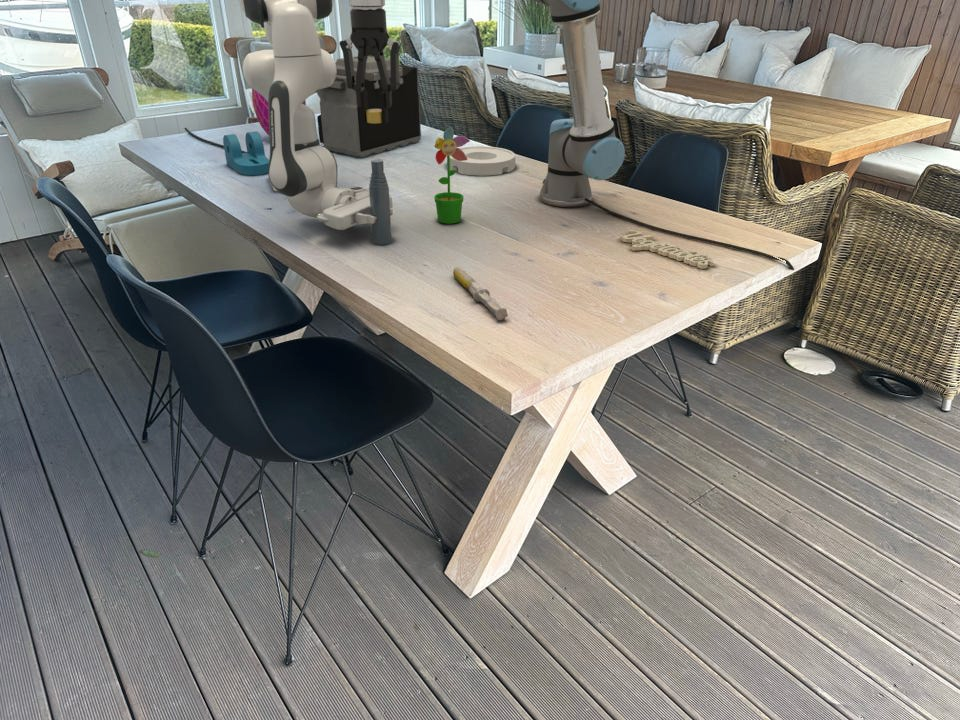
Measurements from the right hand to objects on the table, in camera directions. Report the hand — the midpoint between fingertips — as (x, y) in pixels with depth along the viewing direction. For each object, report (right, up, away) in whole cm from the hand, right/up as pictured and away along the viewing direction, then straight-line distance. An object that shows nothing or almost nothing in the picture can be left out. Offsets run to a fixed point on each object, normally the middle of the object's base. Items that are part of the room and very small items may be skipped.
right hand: (375, 121), depth 158 cm
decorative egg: (-51, +30, +107) cm, 122 cm away
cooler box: (-17, +26, +100) cm, 105 cm away
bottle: (-1, -25, +15) cm, 29 cm away
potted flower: (+16, -17, +29) cm, 37 cm away
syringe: (+24, -42, -13) cm, 50 cm away
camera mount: (-52, +9, +71) cm, 89 cm away
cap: (0, +2, -1) cm, 2 cm away
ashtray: (+24, +11, +77) cm, 81 cm away
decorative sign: (+69, -28, +10) cm, 75 cm away
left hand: (0, -19, +11) cm, 22 cm away
